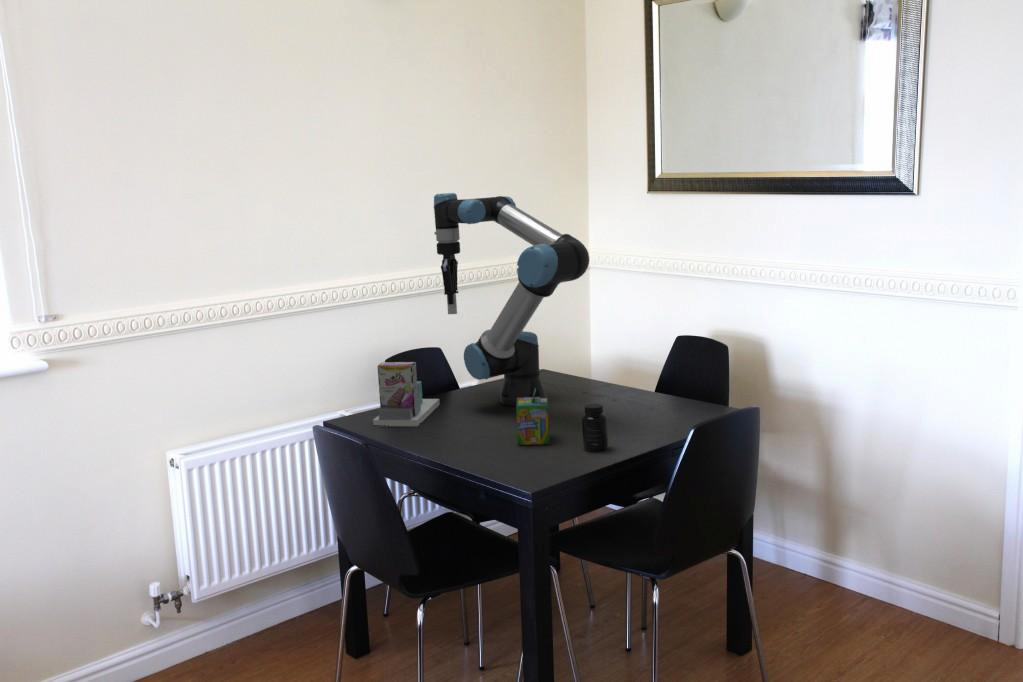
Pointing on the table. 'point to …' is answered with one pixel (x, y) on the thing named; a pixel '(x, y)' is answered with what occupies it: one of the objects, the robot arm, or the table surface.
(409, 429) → the table surface
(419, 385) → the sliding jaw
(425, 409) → the base
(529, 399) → the chalk box
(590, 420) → the supplement bottle
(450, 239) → the robot arm
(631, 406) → the table surface
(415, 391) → the candy bar box
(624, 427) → the table surface
